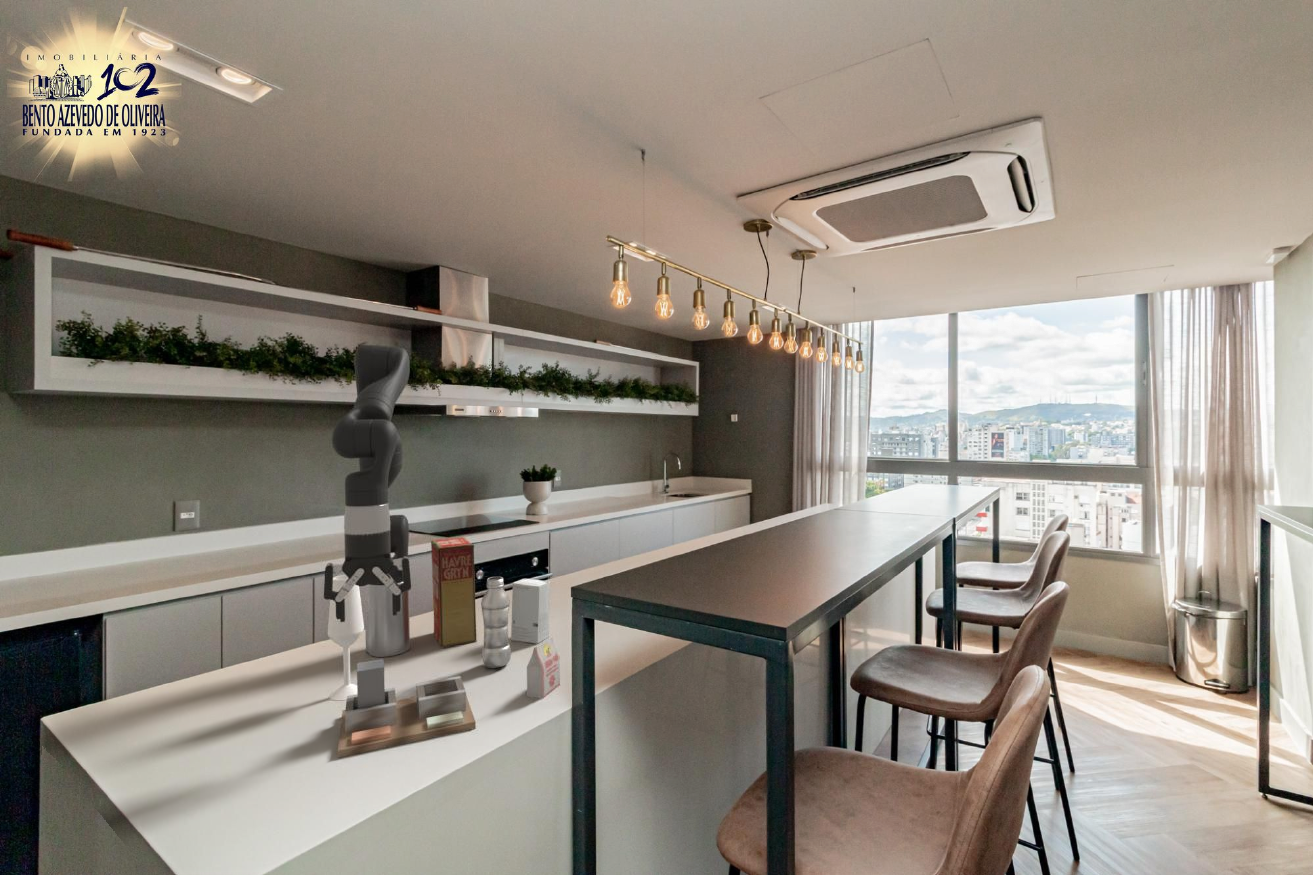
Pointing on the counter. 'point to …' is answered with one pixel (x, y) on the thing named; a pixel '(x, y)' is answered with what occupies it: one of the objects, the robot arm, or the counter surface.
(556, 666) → the small milk carton
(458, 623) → the food packaging
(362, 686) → the plug
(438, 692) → the socket board
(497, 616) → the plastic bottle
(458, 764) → the counter surface
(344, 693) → the champagne flute
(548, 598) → the skincare box
